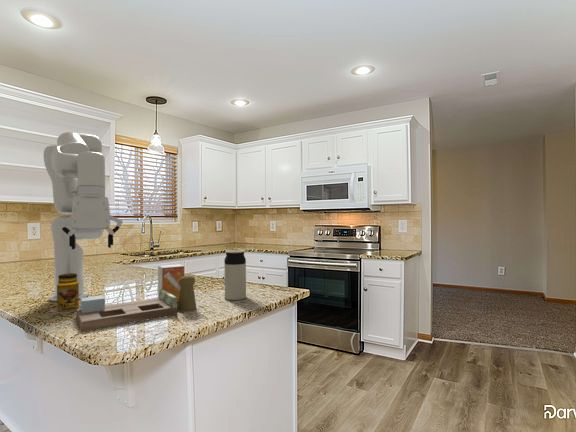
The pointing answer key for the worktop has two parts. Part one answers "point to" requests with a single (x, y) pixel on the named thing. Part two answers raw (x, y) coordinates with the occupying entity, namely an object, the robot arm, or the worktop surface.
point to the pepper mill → (186, 294)
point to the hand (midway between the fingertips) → (91, 248)
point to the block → (92, 304)
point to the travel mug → (235, 275)
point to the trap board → (129, 312)
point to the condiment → (67, 294)
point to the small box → (170, 278)
